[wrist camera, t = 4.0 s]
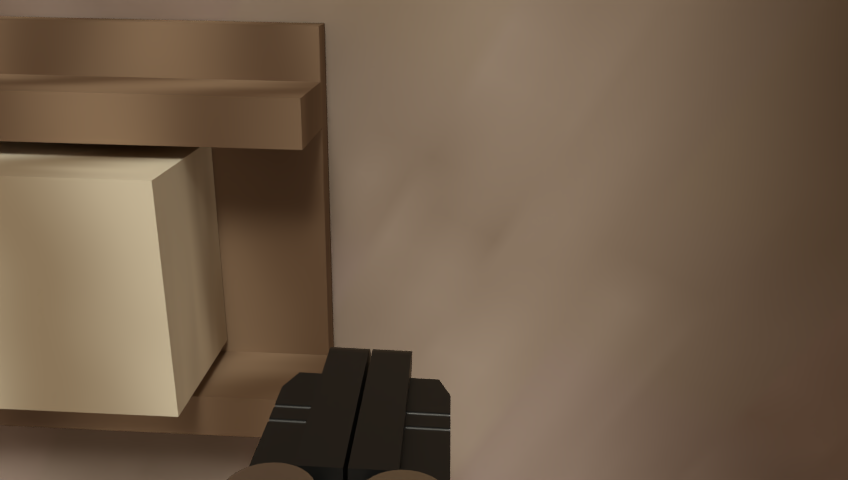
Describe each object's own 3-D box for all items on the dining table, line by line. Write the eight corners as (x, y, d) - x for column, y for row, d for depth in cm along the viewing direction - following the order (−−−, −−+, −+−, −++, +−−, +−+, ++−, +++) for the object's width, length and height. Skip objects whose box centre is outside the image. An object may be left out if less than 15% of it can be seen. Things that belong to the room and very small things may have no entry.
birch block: (210, 140, 20) (151, 180, 16) (227, 339, 22) (178, 417, 18) (-8, 133, 20) (-116, 172, 17) (29, 331, 22) (-59, 406, 19)
